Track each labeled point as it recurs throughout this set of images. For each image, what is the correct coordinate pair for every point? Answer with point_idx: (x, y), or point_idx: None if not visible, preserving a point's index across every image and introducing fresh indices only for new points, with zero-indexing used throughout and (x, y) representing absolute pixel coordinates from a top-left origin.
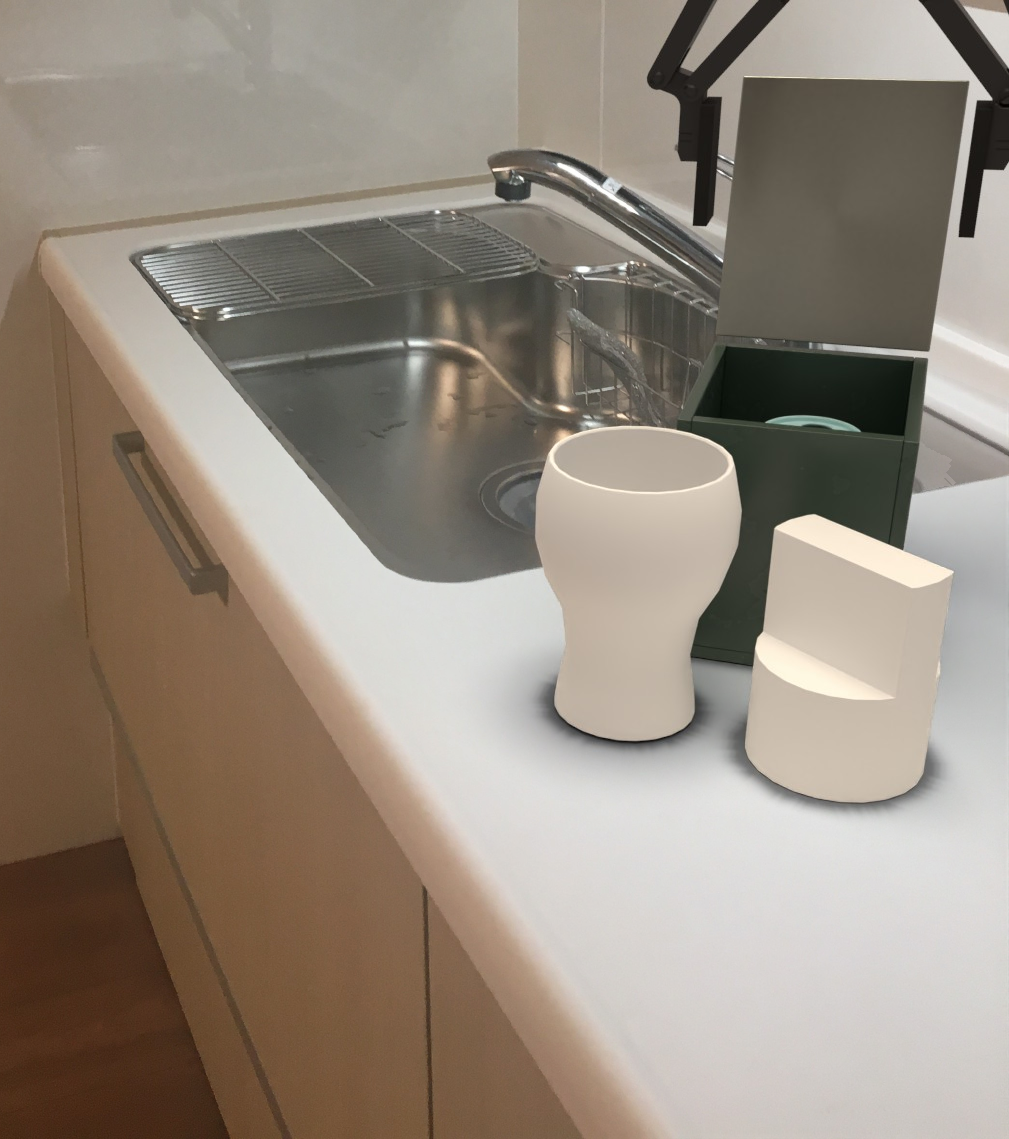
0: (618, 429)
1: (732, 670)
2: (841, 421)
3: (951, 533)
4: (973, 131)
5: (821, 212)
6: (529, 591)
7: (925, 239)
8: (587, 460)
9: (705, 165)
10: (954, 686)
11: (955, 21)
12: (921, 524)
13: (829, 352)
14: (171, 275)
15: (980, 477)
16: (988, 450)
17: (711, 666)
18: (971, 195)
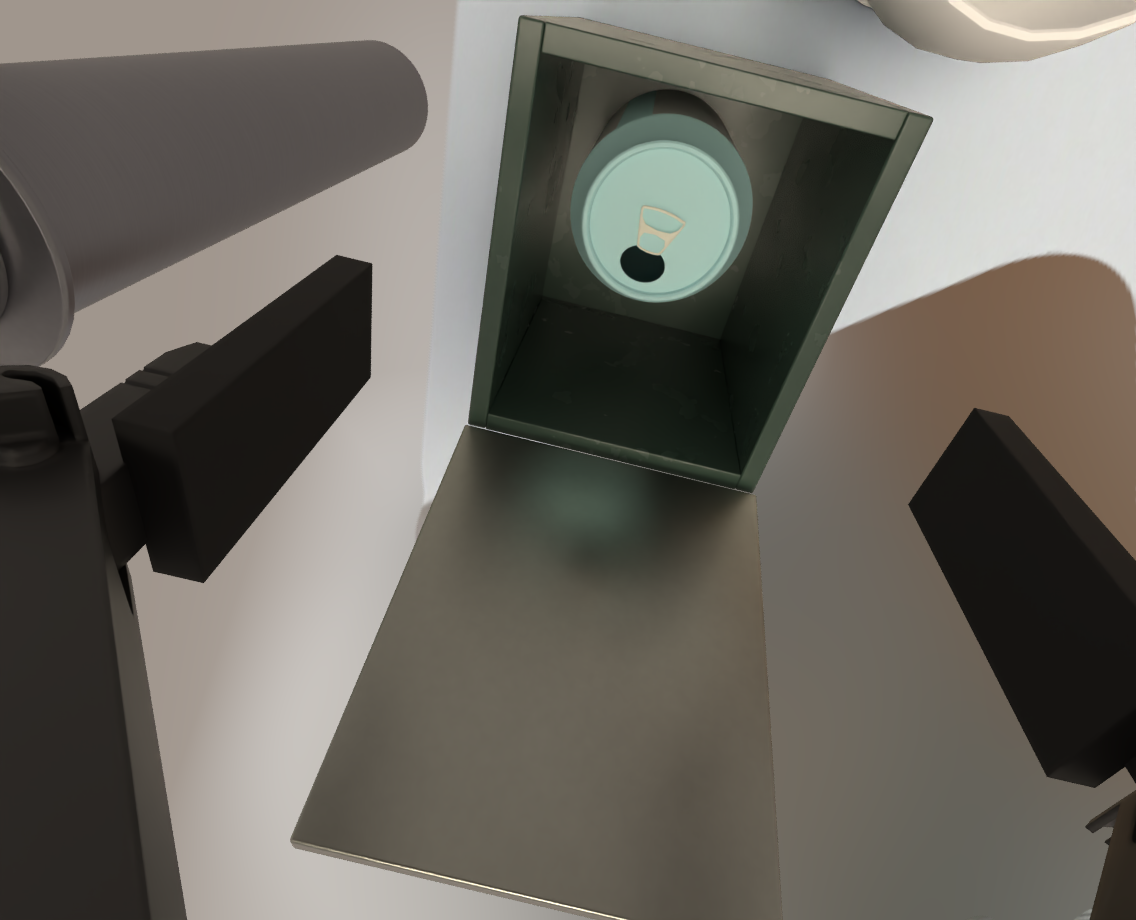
0: (1093, 23)
1: (748, 37)
2: (605, 278)
3: (466, 398)
4: (221, 387)
5: (609, 630)
6: (951, 237)
7: (444, 556)
8: (1124, 10)
9: (1069, 514)
10: (499, 28)
11: (6, 828)
12: None
13: (598, 446)
14: None
15: None
16: None
17: (772, 46)
18: (307, 297)
